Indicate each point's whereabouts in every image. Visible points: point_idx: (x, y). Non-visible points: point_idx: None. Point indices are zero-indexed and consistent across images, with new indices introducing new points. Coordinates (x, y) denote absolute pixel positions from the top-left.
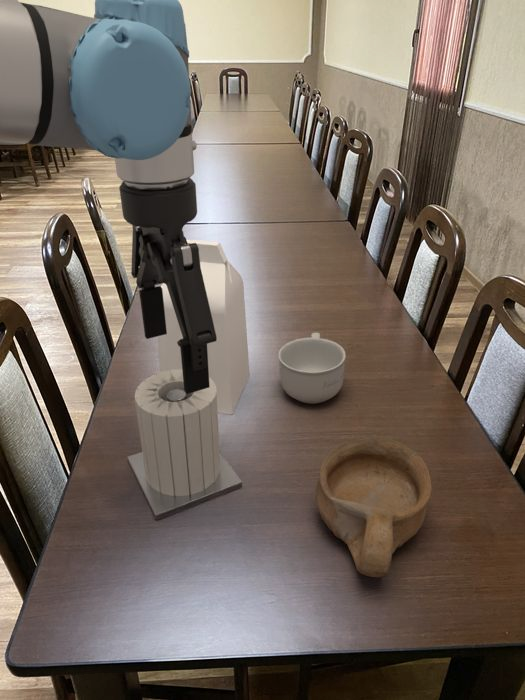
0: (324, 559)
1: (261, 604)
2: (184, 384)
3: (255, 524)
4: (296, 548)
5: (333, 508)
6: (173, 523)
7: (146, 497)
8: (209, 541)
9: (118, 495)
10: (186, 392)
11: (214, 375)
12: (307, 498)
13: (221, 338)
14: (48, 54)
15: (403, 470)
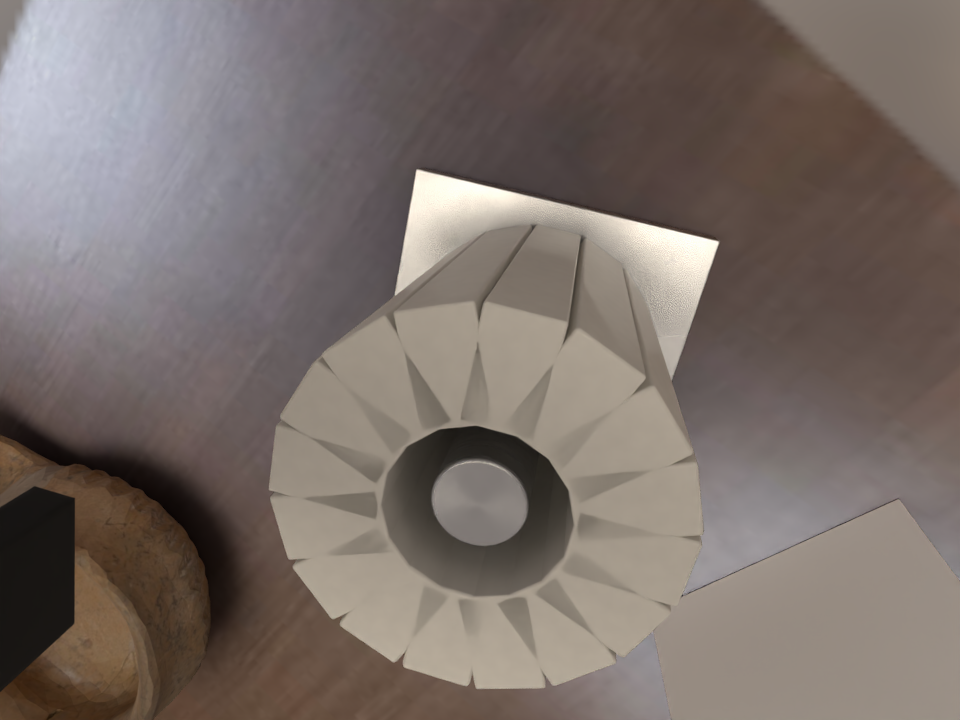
0: (91, 407)
1: (62, 222)
2: (7, 525)
3: (253, 365)
4: (144, 385)
5: None
6: (383, 202)
7: (505, 188)
8: (273, 241)
9: (597, 127)
10: (25, 492)
11: (732, 713)
12: (248, 511)
13: None
14: None
15: (78, 707)
